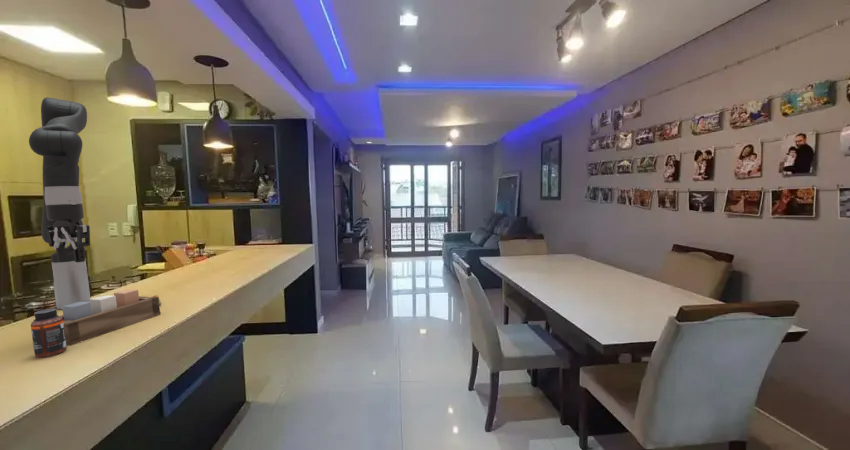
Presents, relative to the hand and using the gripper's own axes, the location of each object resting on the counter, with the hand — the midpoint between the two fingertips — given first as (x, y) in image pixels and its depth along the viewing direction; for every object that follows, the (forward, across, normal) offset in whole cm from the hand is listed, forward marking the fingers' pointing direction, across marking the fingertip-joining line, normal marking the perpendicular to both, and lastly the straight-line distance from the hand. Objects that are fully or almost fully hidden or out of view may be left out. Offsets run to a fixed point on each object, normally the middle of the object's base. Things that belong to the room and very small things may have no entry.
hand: (71, 261), depth 109 cm
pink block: (+18, 0, +14) cm, 22 cm away
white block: (+18, 0, +7) cm, 19 cm away
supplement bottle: (+22, +7, -11) cm, 25 cm away
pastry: (+22, -8, +26) cm, 35 cm away
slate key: (+18, 0, 0) cm, 18 cm away
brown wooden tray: (+22, 0, +7) cm, 23 cm away
